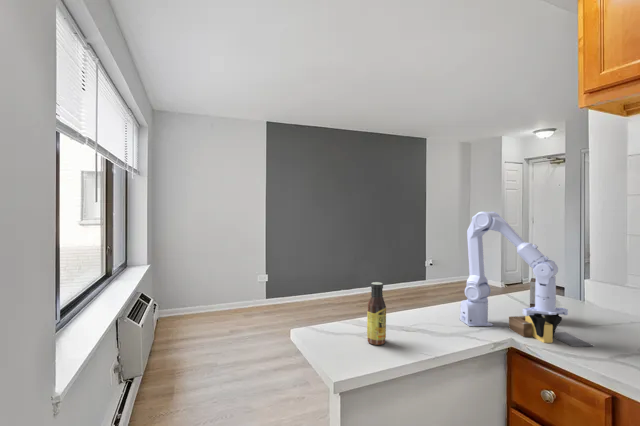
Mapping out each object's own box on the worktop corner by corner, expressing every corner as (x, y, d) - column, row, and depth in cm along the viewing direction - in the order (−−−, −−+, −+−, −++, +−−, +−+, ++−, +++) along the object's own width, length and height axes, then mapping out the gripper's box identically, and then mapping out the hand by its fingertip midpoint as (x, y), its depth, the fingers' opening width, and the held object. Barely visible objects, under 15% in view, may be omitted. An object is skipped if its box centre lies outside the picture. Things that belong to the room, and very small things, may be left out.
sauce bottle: (381, 347, 104) (381, 286, 103) (363, 343, 107) (364, 284, 107) (388, 340, 109) (388, 282, 109) (371, 336, 112) (371, 280, 112)
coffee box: (548, 324, 124) (549, 283, 124) (529, 321, 128) (529, 281, 128) (549, 318, 131) (550, 279, 131) (530, 315, 135) (531, 277, 135)
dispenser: (523, 337, 112) (523, 323, 112) (508, 328, 120) (508, 315, 120) (550, 336, 113) (551, 322, 113) (534, 328, 121) (534, 315, 121)
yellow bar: (543, 342, 107) (544, 325, 107) (525, 332, 116) (525, 316, 116) (552, 342, 107) (552, 324, 107) (533, 332, 116) (533, 315, 116)
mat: (572, 346, 104) (572, 345, 104) (546, 333, 115) (546, 332, 115) (593, 346, 105) (593, 345, 105) (565, 333, 116) (565, 332, 116)
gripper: (533, 299, 104) (532, 341, 104) (575, 299, 105) (575, 340, 105) (518, 294, 111) (518, 332, 112) (558, 293, 112) (558, 332, 112)
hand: (544, 335), depth 109 cm, fingers closed on yellow bar, 3 cm apart
